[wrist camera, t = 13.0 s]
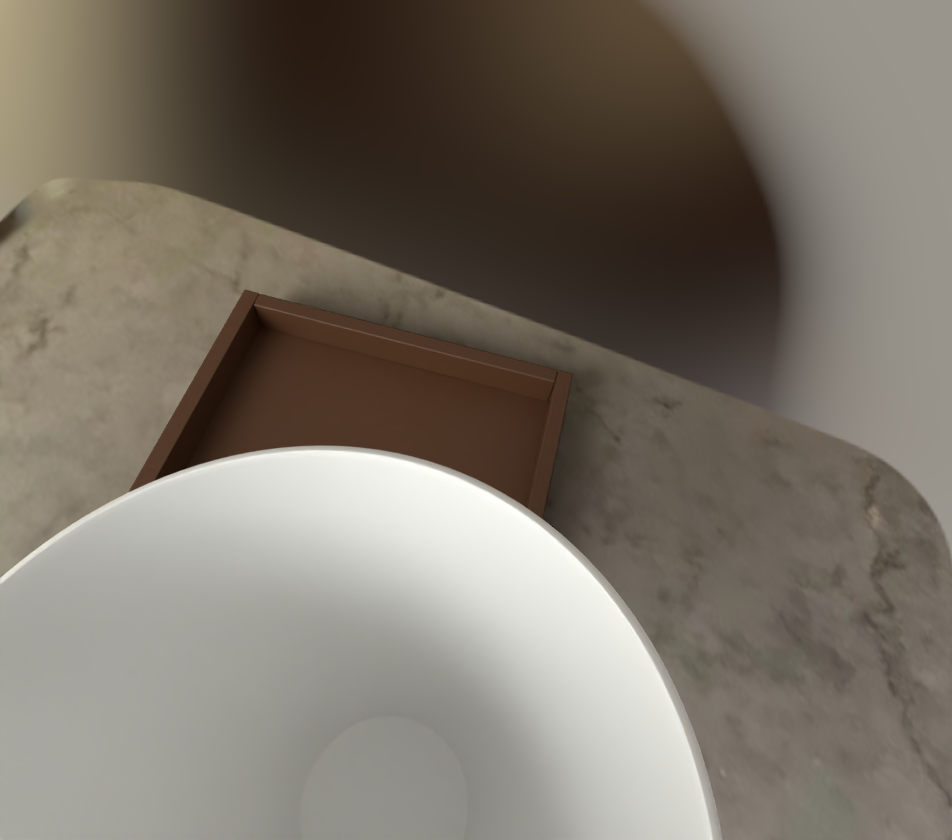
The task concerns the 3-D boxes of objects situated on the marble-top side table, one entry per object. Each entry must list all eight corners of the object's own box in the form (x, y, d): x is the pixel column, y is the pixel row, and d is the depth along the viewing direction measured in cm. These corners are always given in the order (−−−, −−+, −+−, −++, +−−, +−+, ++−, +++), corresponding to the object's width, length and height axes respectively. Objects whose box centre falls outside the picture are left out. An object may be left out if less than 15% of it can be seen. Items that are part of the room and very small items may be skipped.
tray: (561, 403, 34) (573, 373, 31) (502, 680, 27) (511, 671, 24) (257, 324, 35) (244, 289, 32) (122, 573, 28) (92, 554, 25)
